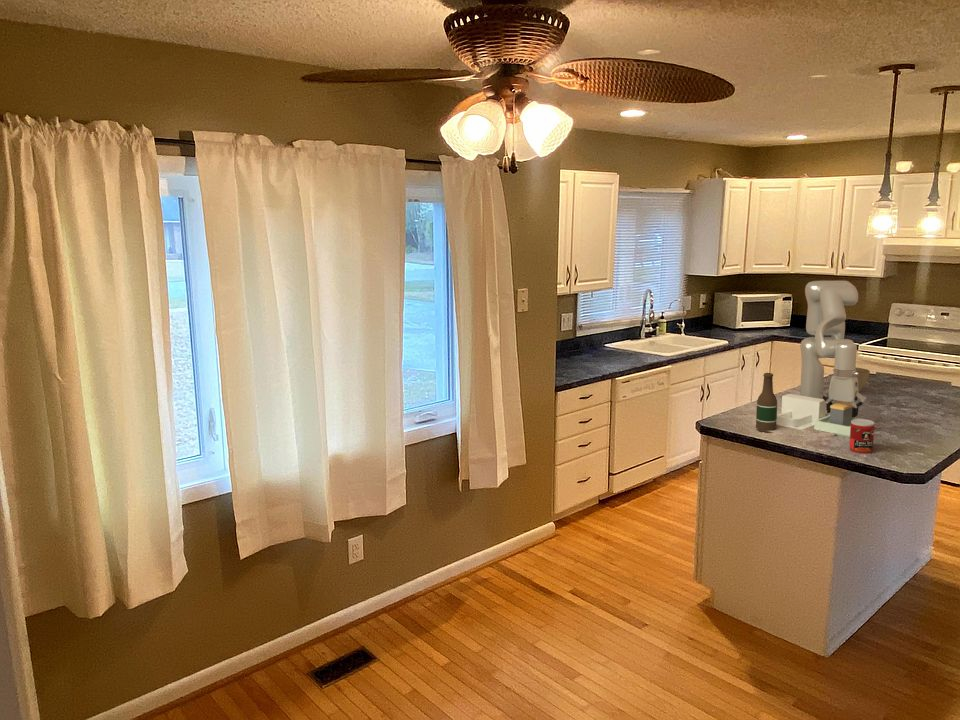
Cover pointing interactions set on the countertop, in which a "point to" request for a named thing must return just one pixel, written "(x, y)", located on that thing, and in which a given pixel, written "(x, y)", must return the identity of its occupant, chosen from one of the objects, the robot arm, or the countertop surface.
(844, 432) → the tray
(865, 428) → the canned food
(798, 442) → the countertop surface
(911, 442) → the countertop surface
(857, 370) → the planter bowl
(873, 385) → the countertop surface
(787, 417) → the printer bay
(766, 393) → the beer bottle
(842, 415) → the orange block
